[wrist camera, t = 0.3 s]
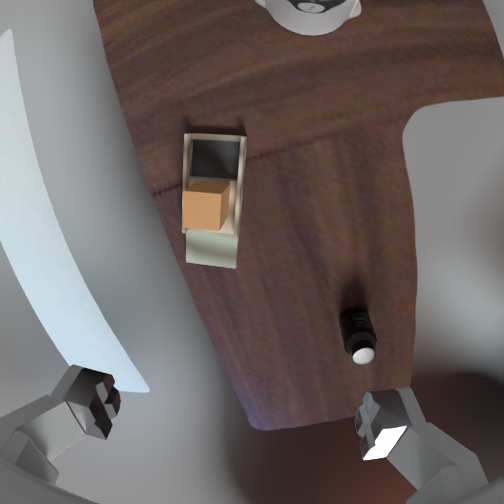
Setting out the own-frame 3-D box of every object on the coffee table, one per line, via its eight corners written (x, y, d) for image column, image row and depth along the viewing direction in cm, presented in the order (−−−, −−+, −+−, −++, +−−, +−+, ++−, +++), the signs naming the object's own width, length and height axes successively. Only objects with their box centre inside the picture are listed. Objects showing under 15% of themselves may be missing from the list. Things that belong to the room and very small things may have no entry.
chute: (190, 133, 51) (184, 133, 47) (247, 136, 50) (244, 137, 47) (187, 258, 61) (182, 266, 58) (237, 265, 60) (234, 273, 57)
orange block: (197, 180, 53) (183, 190, 45) (230, 183, 52) (221, 194, 45) (196, 212, 55) (182, 227, 48) (228, 215, 55) (219, 231, 48)
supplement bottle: (332, 321, 64) (339, 359, 53) (354, 301, 61) (365, 337, 50) (353, 335, 65) (362, 372, 54) (374, 316, 62) (387, 352, 51)
